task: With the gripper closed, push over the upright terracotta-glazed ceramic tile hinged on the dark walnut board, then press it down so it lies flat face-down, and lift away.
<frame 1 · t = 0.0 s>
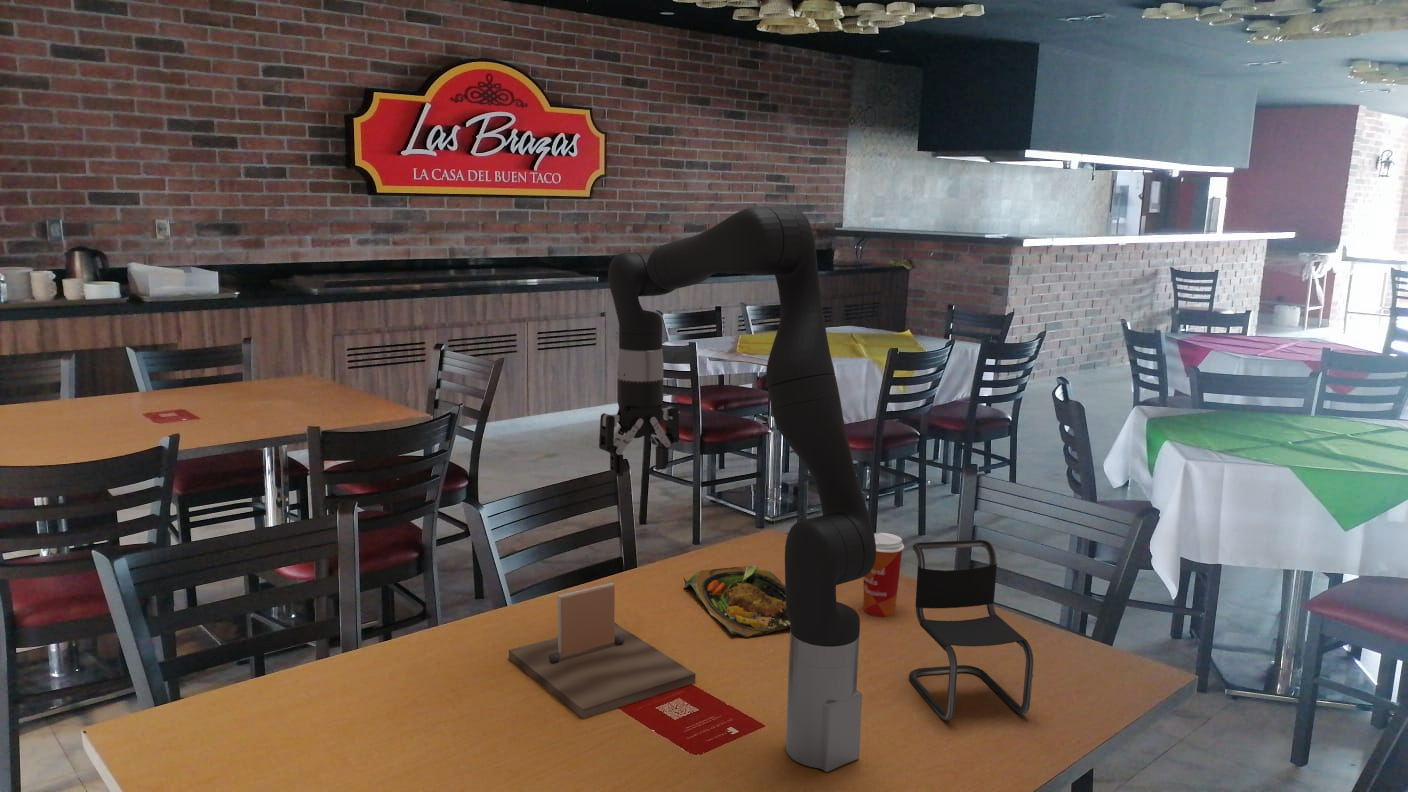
hand: (639, 472, 168), 29 cm above the table, fingers open, 8 cm apart
chair: (963, 698, 154), on the table
prepared meal: (749, 607, 189), on the table
paper cup: (879, 612, 187), on the table
tile: (587, 619, 163), point 7 cm above the table, hinge at 90.0°
walnut board: (600, 670, 161), on the table
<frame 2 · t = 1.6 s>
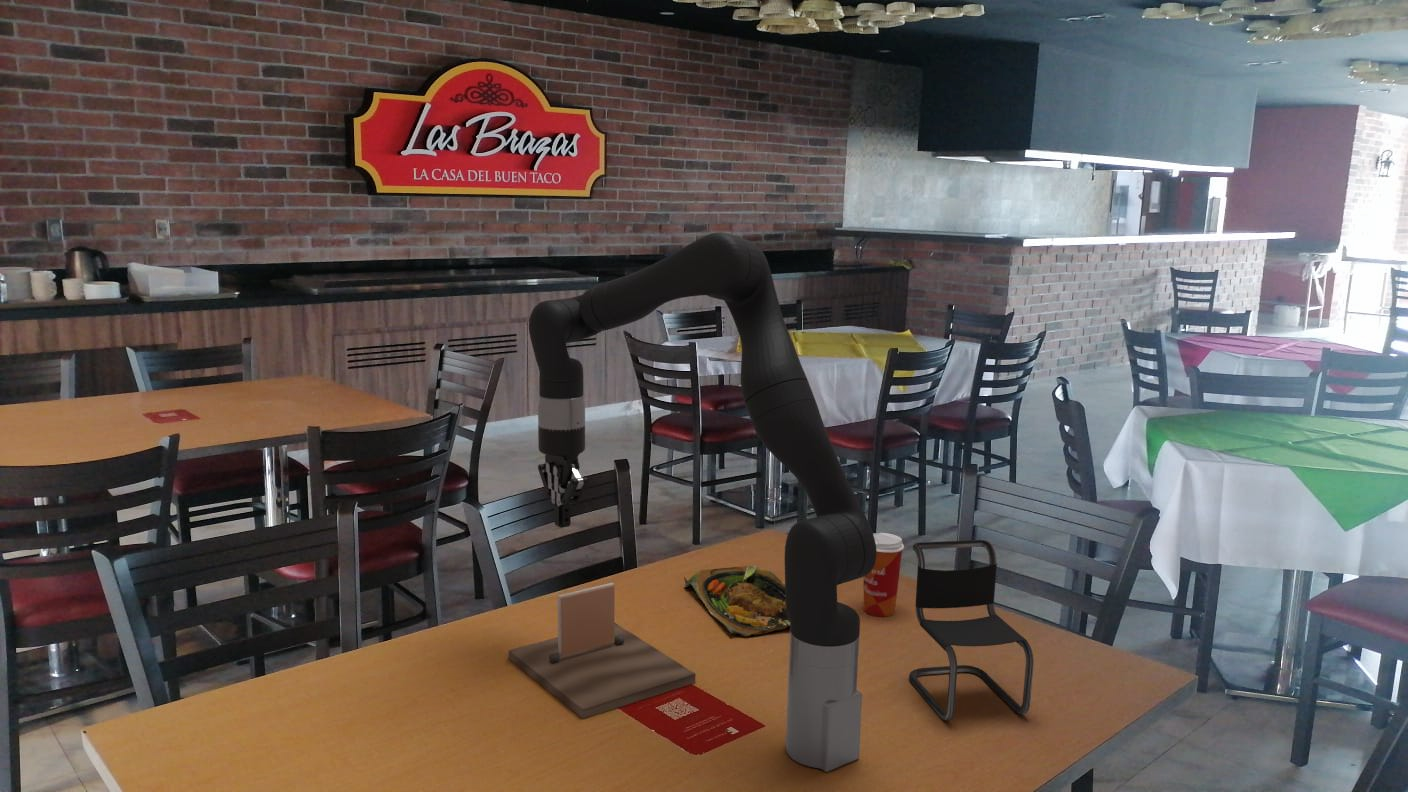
hand: (562, 525, 166), 21 cm above the table, fingers closed
nothing on the table moved.
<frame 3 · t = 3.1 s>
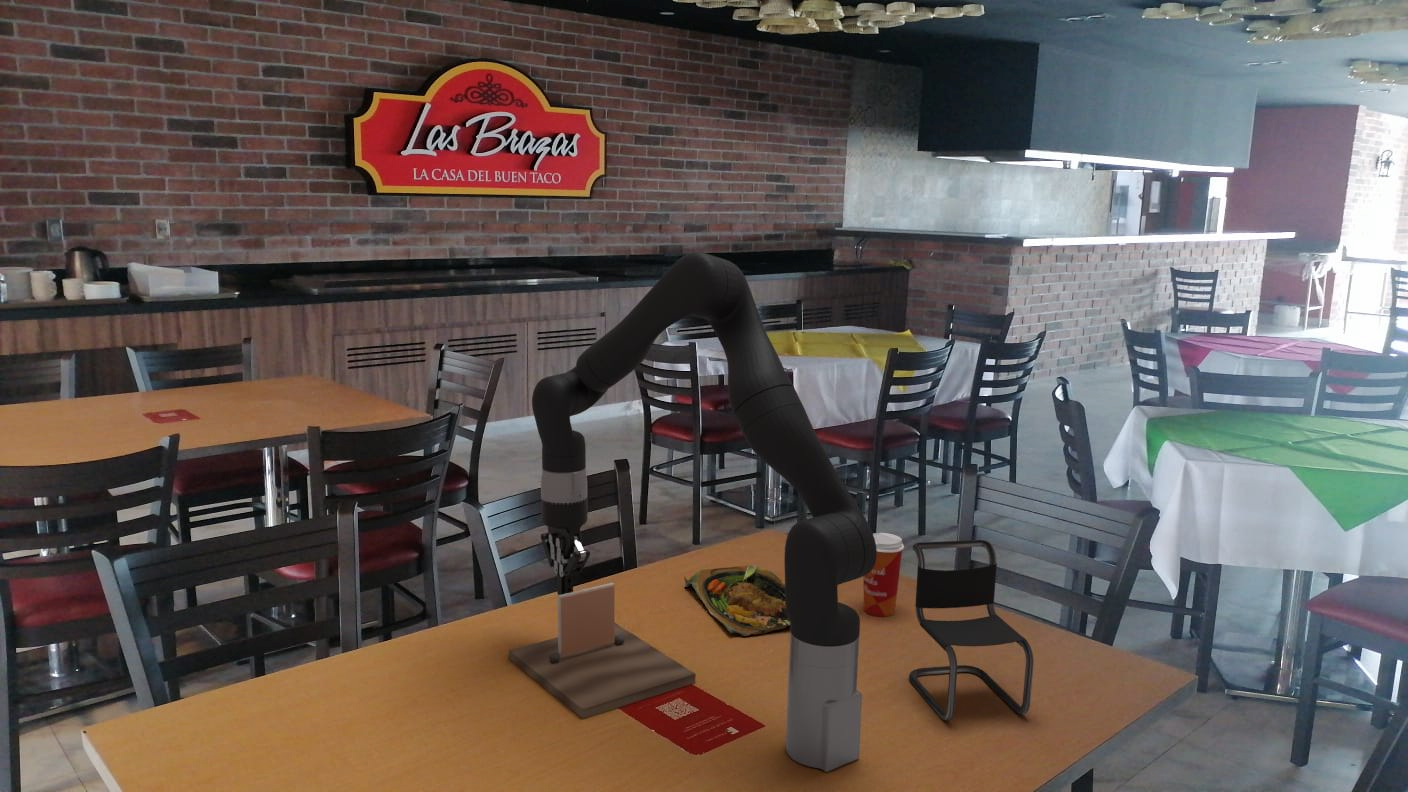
hand: (565, 595, 168), 9 cm above the table, fingers closed
nothing on the table moved.
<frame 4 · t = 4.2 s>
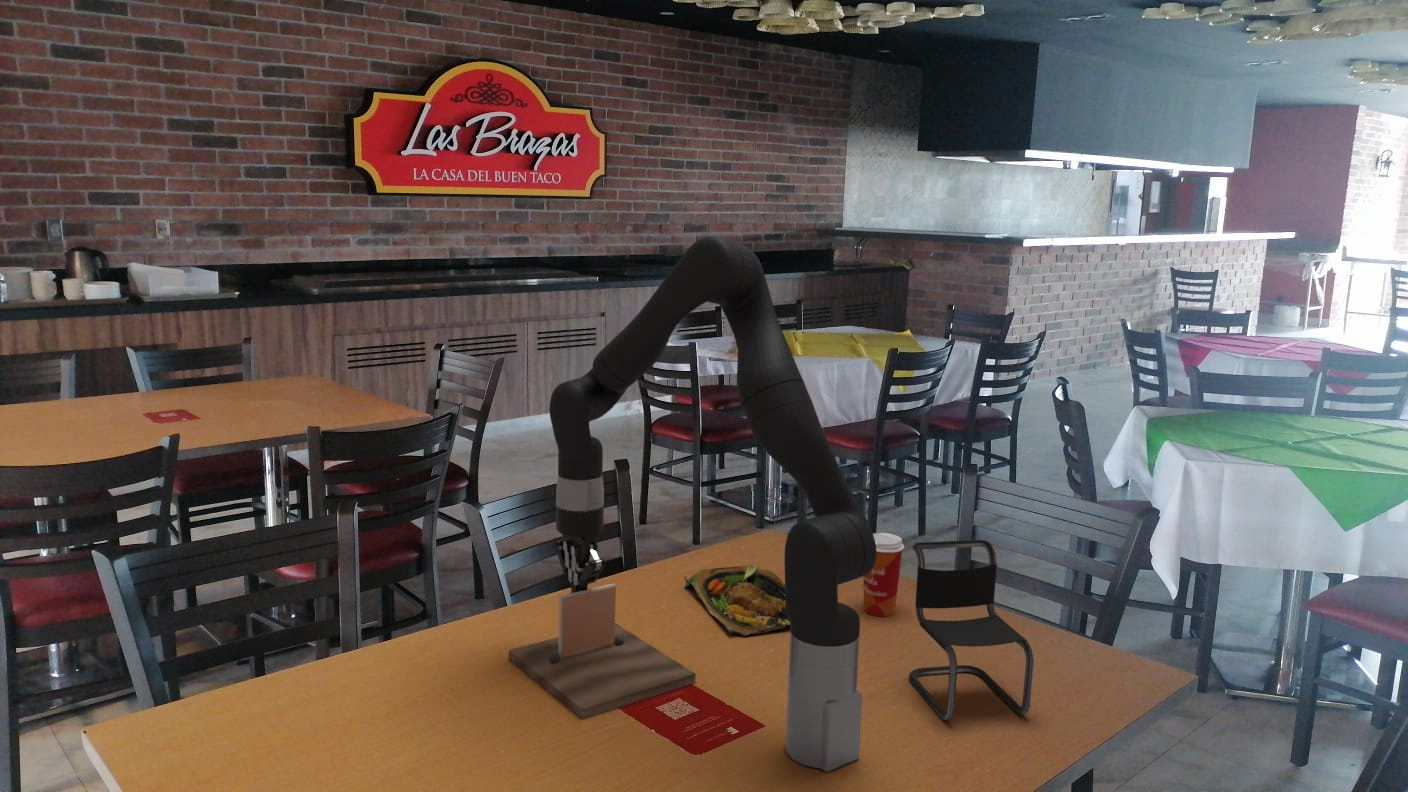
hand: (579, 604, 164), 9 cm above the table, fingers closed
tile: (587, 619, 162), point 7 cm above the table, hinge at 92.3°, touching gripper
everything else where it was.
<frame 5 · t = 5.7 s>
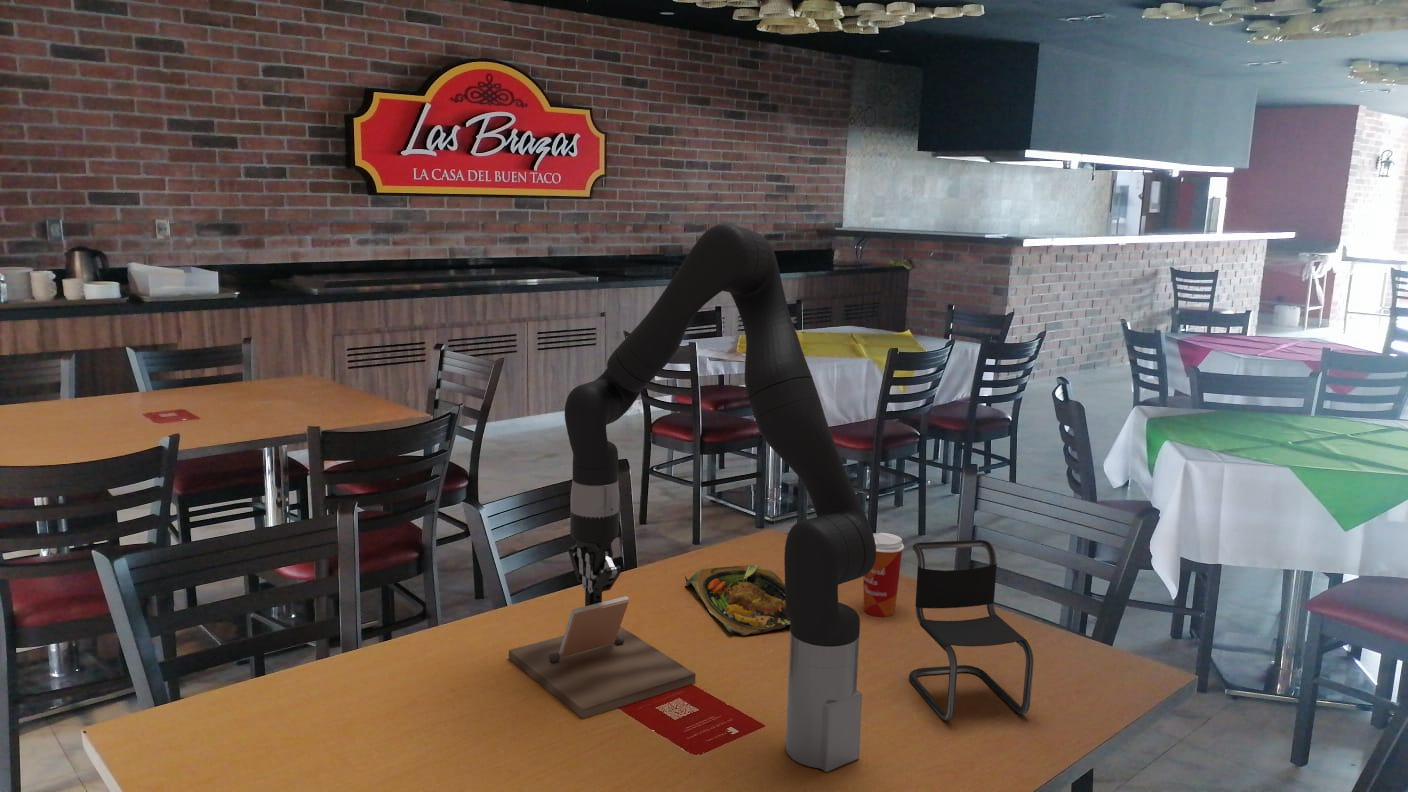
hand: (593, 612, 161), 9 cm above the table, fingers closed
tile: (594, 627, 161), point 7 cm above the table, hinge at 116.4°, touching gripper
everything else where it was.
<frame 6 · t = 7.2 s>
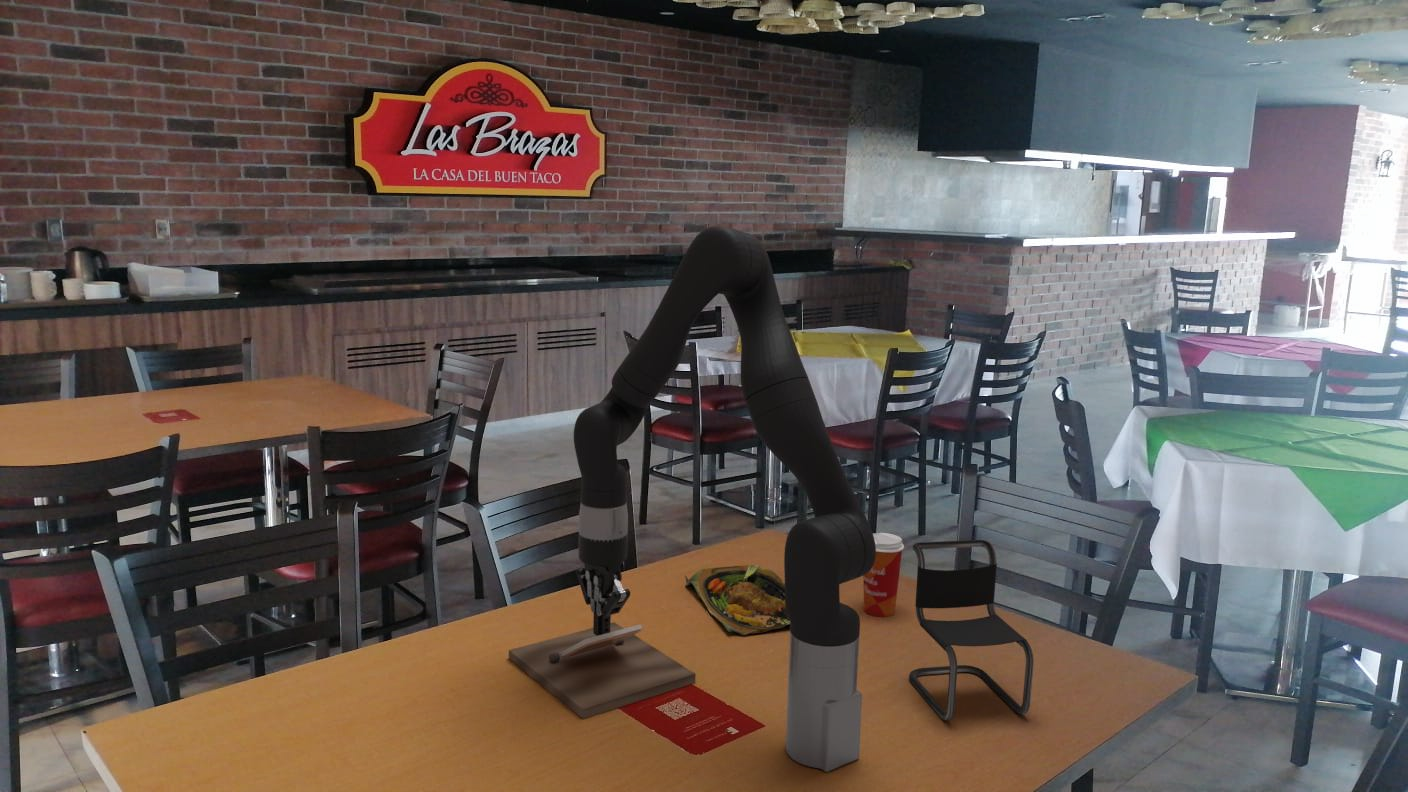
hand: (601, 634, 159), 6 cm above the table, fingers closed
tile: (600, 641, 160), point 5 cm above the table, hinge at 147.0°, touching gripper
everything else where it was.
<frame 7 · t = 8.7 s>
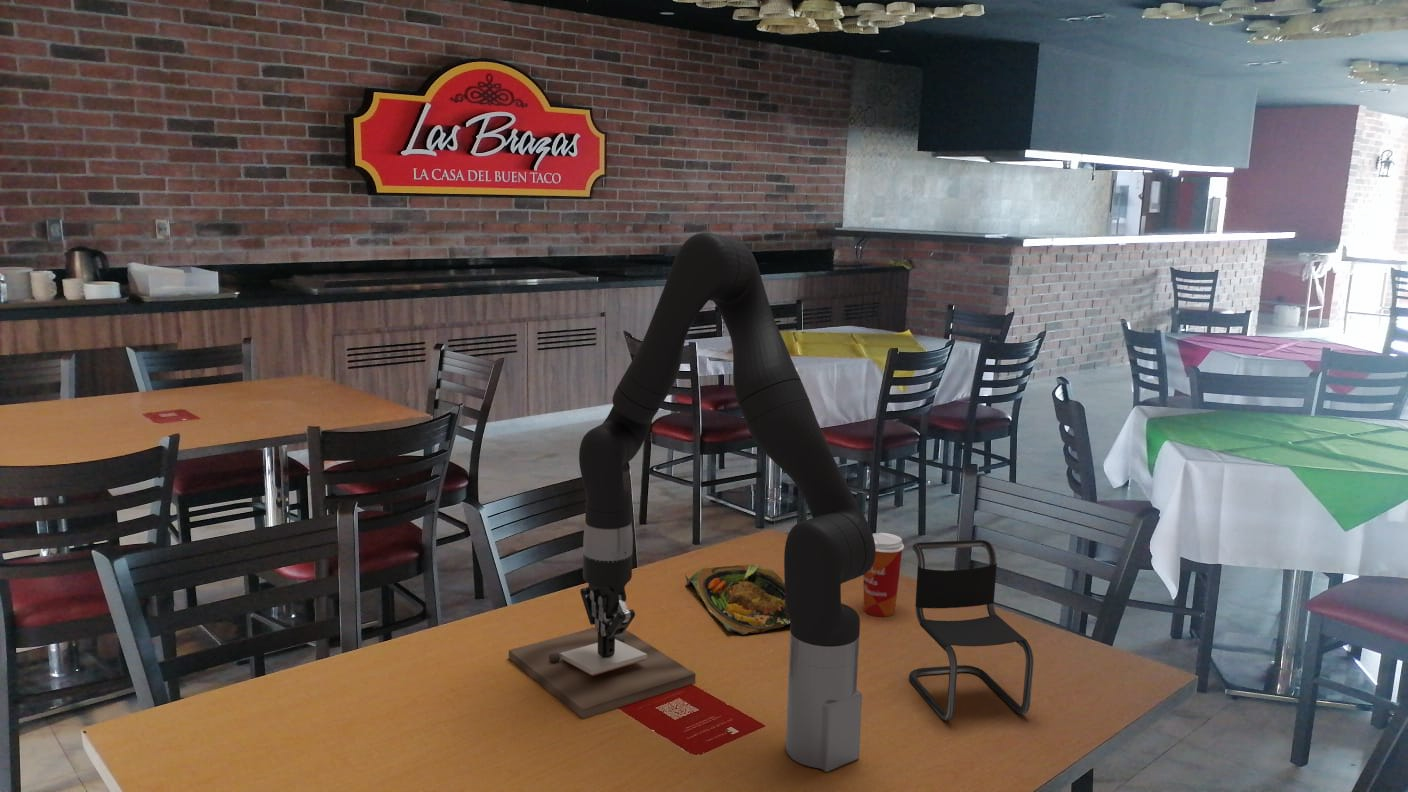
hand: (605, 655, 158), 3 cm above the table, fingers closed
tile: (603, 656, 159), point 3 cm above the table, hinge at 174.0°, touching gripper
everything else where it was.
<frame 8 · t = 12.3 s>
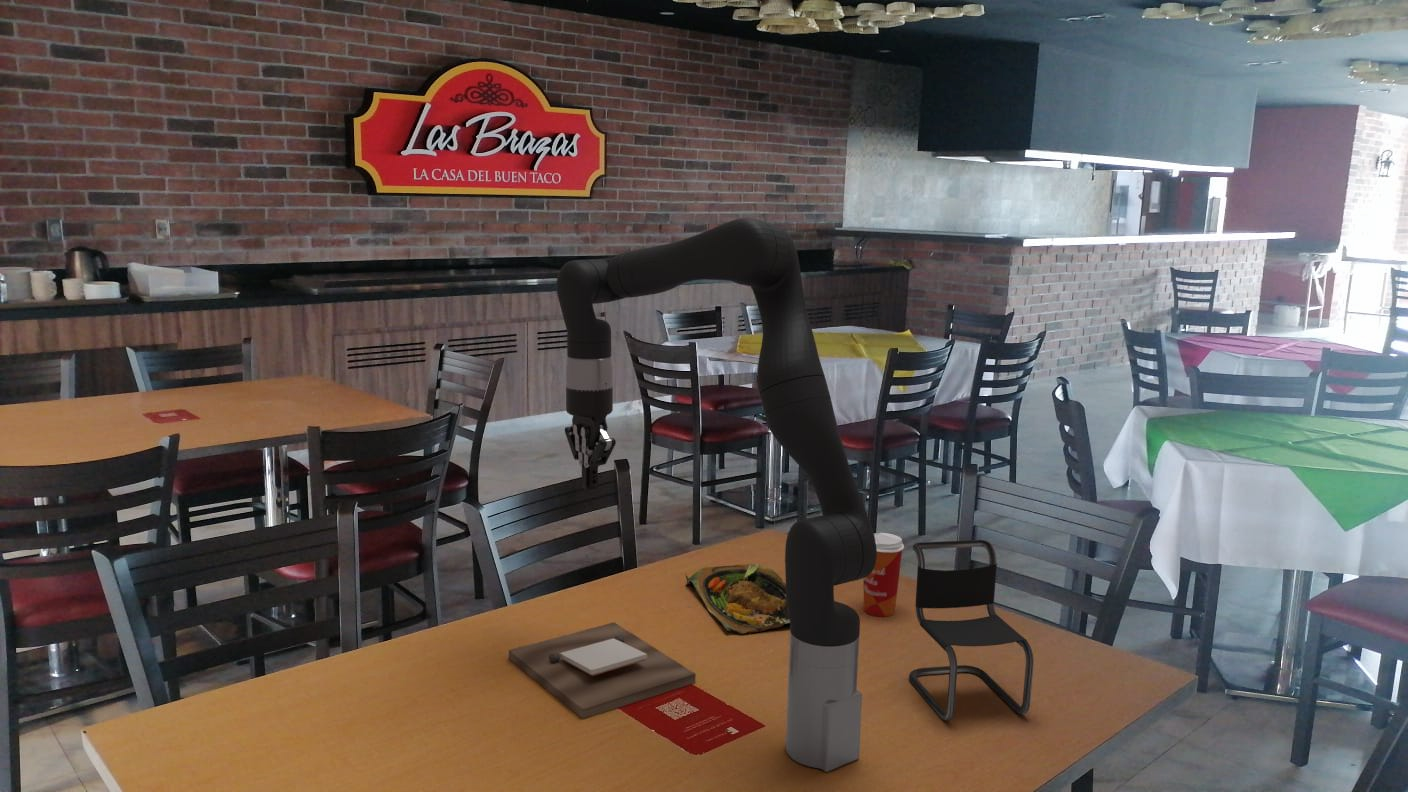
hand: (589, 488, 166), 27 cm above the table, fingers closed
tile: (603, 656, 159), point 3 cm above the table, hinge at 174.0°
at the end: tile at +174° (first picture: +90°); the gripper is holding nothing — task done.
